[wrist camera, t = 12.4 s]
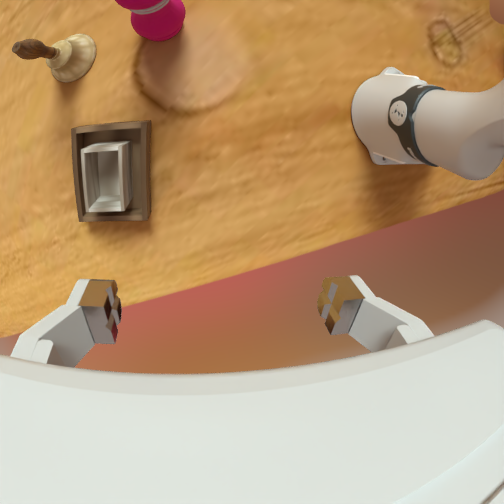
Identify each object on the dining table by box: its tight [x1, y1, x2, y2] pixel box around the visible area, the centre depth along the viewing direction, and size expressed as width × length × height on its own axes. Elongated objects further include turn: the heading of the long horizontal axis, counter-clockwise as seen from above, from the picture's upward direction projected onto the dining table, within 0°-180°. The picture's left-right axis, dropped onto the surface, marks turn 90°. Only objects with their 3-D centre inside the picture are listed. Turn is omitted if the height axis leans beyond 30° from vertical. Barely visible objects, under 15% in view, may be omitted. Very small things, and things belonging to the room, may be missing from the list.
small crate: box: [81, 140, 133, 212], centre depth 35 cm, size 6×9×6 cm, turn 174°
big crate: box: [71, 121, 151, 222], centre depth 36 cm, size 12×15×4 cm
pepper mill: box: [115, 0, 185, 41], centre depth 19 cm, size 7×7×20 cm
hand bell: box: [12, 34, 96, 82], centre depth 20 cm, size 8×8×16 cm
